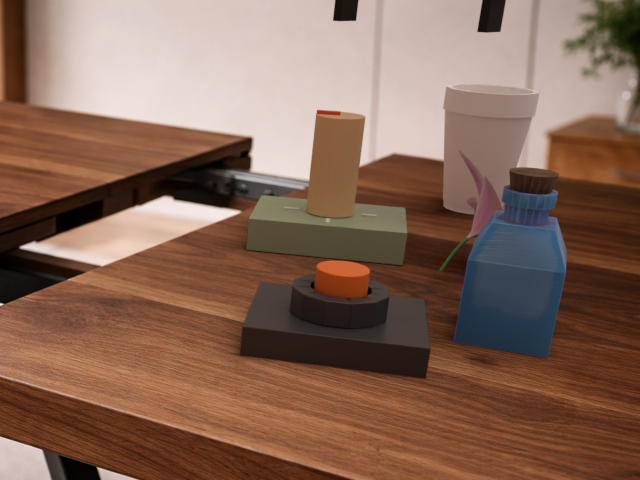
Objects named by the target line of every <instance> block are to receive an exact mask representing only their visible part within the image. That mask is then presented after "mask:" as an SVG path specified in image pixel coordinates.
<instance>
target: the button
mask: <svg viewBox="0 0 640 480" xmlns="http://www.w3.org/2000/svg"><path fill="white" fill-rule="evenodd" d="M315 274H316V275H315V284H314V290H315V291H316V292H318V293H322V294H325V295H329V296H334V297H343V298H354V297H364V296H367V292H368V285H369V279H370V276H371V270H370V268H369V267H368V266H366V265H364V264H362V263H358V262H355V261H349V260H325V261H321V262H319V263H317V265H316V268H315Z"/></svg>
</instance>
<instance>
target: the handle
mask: <svg viewBox="0 0 640 480" xmlns="http://www.w3.org/2000/svg"><path fill="white" fill-rule="evenodd" d="M365 125H366V116H365V115H363V114H360V113H354V112H348V111H347V112H345V111H341V110H327V109H326V110H325V109H317V110H316V113H315V120H314V131H313V141H312V150H311V159H310V168H309V179H308V188H307V190H308V191H307V197H306V199H307V206H306V211H307V212H308V213H310V214H313V215H316V216H321V217H328V218H345V217H350V216H352V215H353V214H354V206H355V203H356V197H357V189H358V181H359V173H360V165H361V156H362V148H363V142H364V141H363V140H364V132H365Z"/></svg>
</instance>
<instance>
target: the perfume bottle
mask: <svg viewBox="0 0 640 480" xmlns="http://www.w3.org/2000/svg"><path fill="white" fill-rule="evenodd" d="M509 173H510V185H506V186H504V189H503V195H502V202H503V203H505V204H504V207H505V209H504V211H498V210H496V212H495V213H494V214H493V216H492V217H491V218H490V220H489V221H488V223H487V224H486V225H485V227H484V228H483V229H482V231H481V232H480V233H479V235H478V236H477V237H475V239H474V242H473V245H472V247H471V250H470V253H469V254H468V258H467V262H466V268H465V272H464V273H465V274H464V278H463V285H462V291H461V297H460V303H459V308H458V314H457V319H456V326H455V331H454V337H453V343H455V344H462V345H466V346H467V345H468V346H474V347H478V348H479V347H480V348H484V349H491V350H497V351H504V352H507V353H514V354H521V355H524V356H525V355H527V356H531V357H532V356H533V357H537V358H544V359H548V358H549V355H550V350H551V346H552V341H553V337H554V333H555V332H554V331H555V327H556V322H557V317H558V312H559V308H560V304H561V299H562V295H563V294H562V293H563V289H564V284H565V280H566V274H567V254H568V250H567V247H566V244H565V240H564V236H563V233H562V230H561V227H560V224H559V220H558V217H556V216H550V212H551V210H552V209H555V208H556V206H557V200H558V195H559V192H558V190H555V189H554V188H555V186H556V183H557V182H558V179H559V177H560V173H559V172H556V171H554V170H549V169H544V168H537V167H528V166H527V167H524V166H523V167H522V166H517V167H516V168H511V169H509Z"/></svg>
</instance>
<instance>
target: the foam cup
mask: <svg viewBox="0 0 640 480" xmlns="http://www.w3.org/2000/svg"><path fill="white" fill-rule="evenodd" d="M539 97H540V91H538V90H535V89H532V88H527V87H520V86H519V87H518V86H512V85H501V84H487V83H454V84H448V85H446V86H445V92H444V99H443V104H442V105H443V106H442V109H443V110H444V127H443V128H444V129H443V130H444V131H443V132H444V135H443V174H442V175H443V181H442V183H443V184H442V201H443V204H442V207H444V208H445V209H446V210H449V211H452V212H454V213H459V214H460V213H461V214H466V215H473V216H474V212H475V210H474V209H473V208H472V207H471V206H470V205H469V204H468V203H467V200H468V199H469V198H470V197H473V196H475V197H476V201H477V204H478V200H479V195H478V191H477V187H476V184H475V181H474V179H473V176H472V175H471V173H470V171H469V169H468V167H467V165H466V164H465V162H464V160H463V158H462V157H461V155H460V153H459V151H458V150H460V151H461V152H462V153H463V154H465V155H466V156H467V157H468V158H469V160H470V161H471V162H472V163H473V164H474V165H475V166H476V168H477V169H478V170H479V172H480V173H481V175H482V177H483V179H484V176H486V177H487V179H488V180H489V181H490V183H491V184H492V186H493V188H494V190H495V192H496V194H497V196H498V198H499V200H500V203H501V206H502V207H505V203H503V202H502V195H503V189H504V186H506V185H510V173H509V169H511V168H516V167H518V163H519V161H520V158H521V155H522V151H523V148H524V145H525V142H526V139H527V136H528V132H529V130H530V126H531V123H532V119H533V117H535V116H536V113H537V108H538V102H539Z"/></svg>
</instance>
